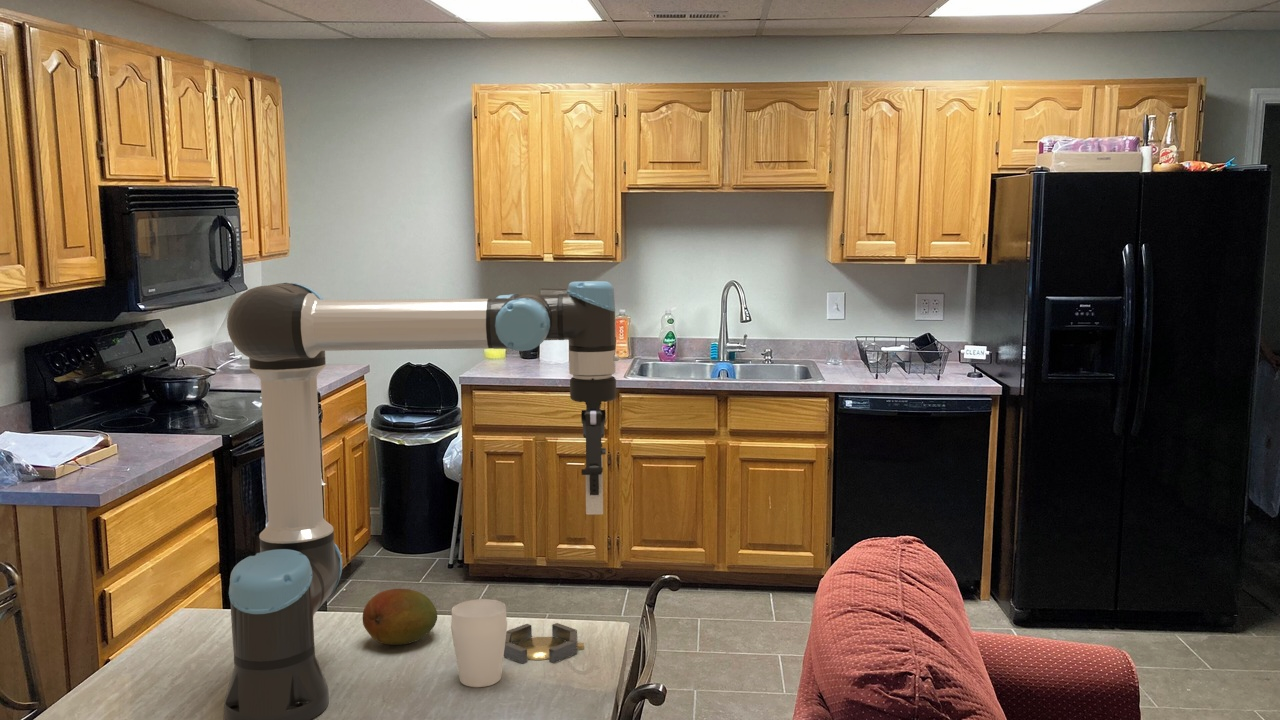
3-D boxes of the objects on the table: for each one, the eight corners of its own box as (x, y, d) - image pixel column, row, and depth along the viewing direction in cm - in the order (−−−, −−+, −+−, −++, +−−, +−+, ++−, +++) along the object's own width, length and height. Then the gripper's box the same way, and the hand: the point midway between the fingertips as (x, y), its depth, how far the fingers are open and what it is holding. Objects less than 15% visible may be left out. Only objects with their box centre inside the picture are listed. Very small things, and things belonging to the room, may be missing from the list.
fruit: (353, 647, 179) (350, 593, 178) (402, 624, 190) (400, 572, 189) (402, 660, 173) (400, 603, 172) (450, 635, 184) (448, 582, 183)
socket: (492, 664, 171) (492, 652, 171) (499, 635, 184) (499, 624, 183) (583, 662, 171) (583, 649, 171) (584, 633, 184) (584, 622, 184)
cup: (497, 693, 160) (495, 620, 159) (444, 688, 162) (441, 616, 160) (515, 669, 169) (514, 600, 167) (464, 666, 171) (462, 597, 169)
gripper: (617, 385, 153) (618, 523, 155) (614, 366, 177) (616, 485, 180) (567, 386, 152) (569, 524, 155) (571, 367, 177) (574, 486, 179)
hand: (594, 503), depth 167 cm, fingers open, 13 cm apart
